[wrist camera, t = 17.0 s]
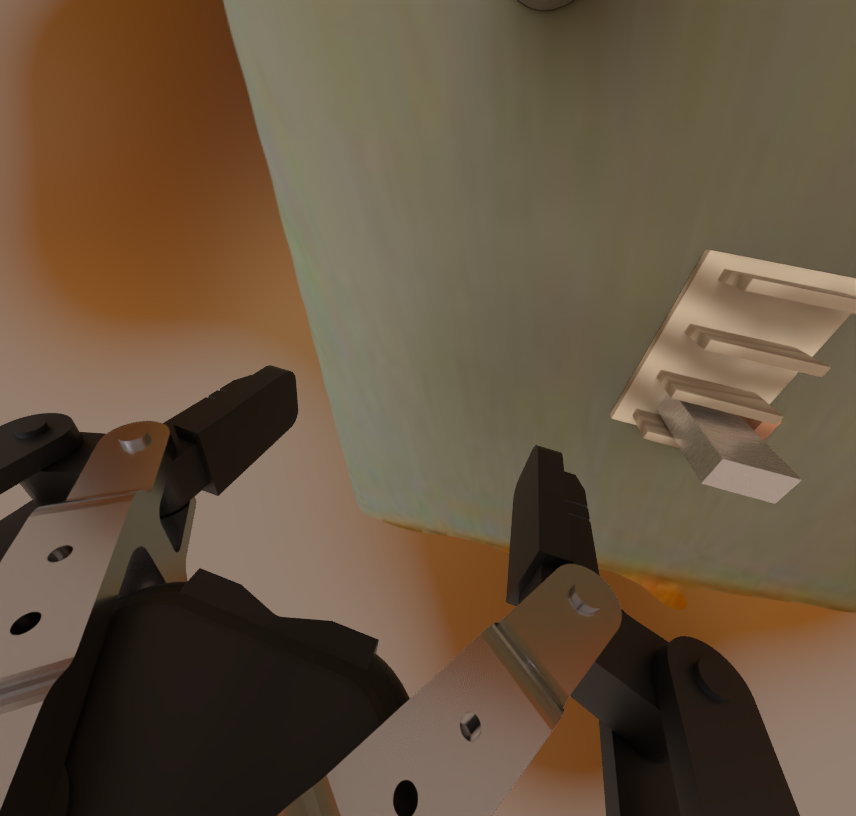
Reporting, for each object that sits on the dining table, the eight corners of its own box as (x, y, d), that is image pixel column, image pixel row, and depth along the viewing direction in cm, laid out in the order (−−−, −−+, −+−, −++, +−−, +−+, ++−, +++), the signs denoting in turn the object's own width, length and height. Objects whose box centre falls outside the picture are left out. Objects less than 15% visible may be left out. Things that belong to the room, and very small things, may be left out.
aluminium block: (670, 388, 38) (723, 459, 28) (725, 401, 38) (801, 480, 27) (656, 408, 40) (701, 483, 29) (709, 422, 39) (775, 503, 29)
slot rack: (705, 249, 32) (737, 257, 27) (869, 280, 30) (935, 296, 25) (609, 414, 43) (619, 441, 38) (724, 445, 41) (750, 477, 36)
